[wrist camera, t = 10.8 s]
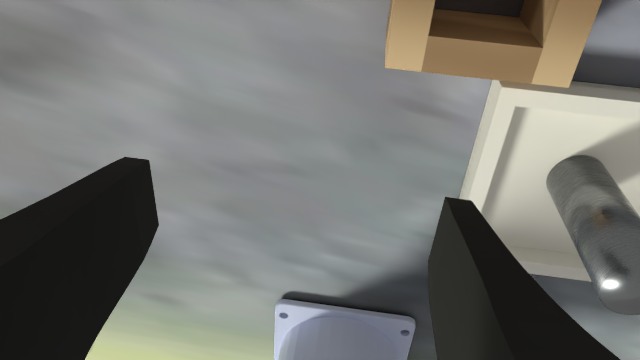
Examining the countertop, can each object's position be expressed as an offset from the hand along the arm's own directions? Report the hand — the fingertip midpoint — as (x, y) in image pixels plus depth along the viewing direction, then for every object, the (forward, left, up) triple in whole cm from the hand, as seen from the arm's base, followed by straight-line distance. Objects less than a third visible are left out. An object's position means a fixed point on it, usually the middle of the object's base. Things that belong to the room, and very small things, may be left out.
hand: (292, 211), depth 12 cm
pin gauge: (-4, -11, -9) cm, 15 cm away
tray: (-4, -11, -10) cm, 15 cm away
